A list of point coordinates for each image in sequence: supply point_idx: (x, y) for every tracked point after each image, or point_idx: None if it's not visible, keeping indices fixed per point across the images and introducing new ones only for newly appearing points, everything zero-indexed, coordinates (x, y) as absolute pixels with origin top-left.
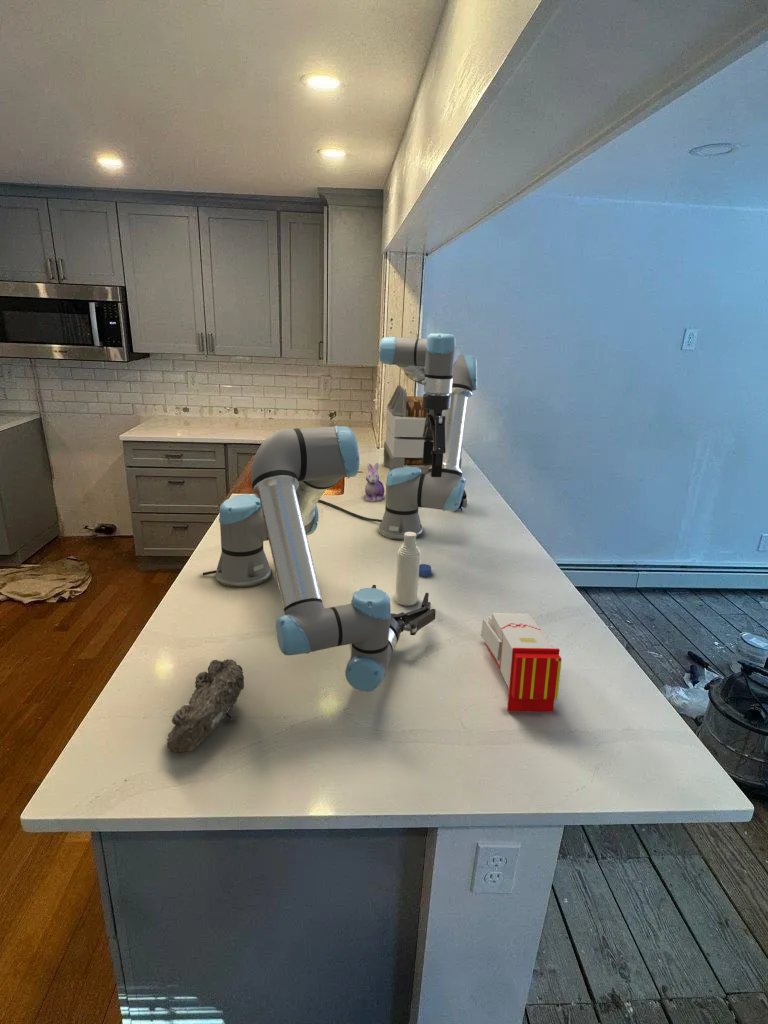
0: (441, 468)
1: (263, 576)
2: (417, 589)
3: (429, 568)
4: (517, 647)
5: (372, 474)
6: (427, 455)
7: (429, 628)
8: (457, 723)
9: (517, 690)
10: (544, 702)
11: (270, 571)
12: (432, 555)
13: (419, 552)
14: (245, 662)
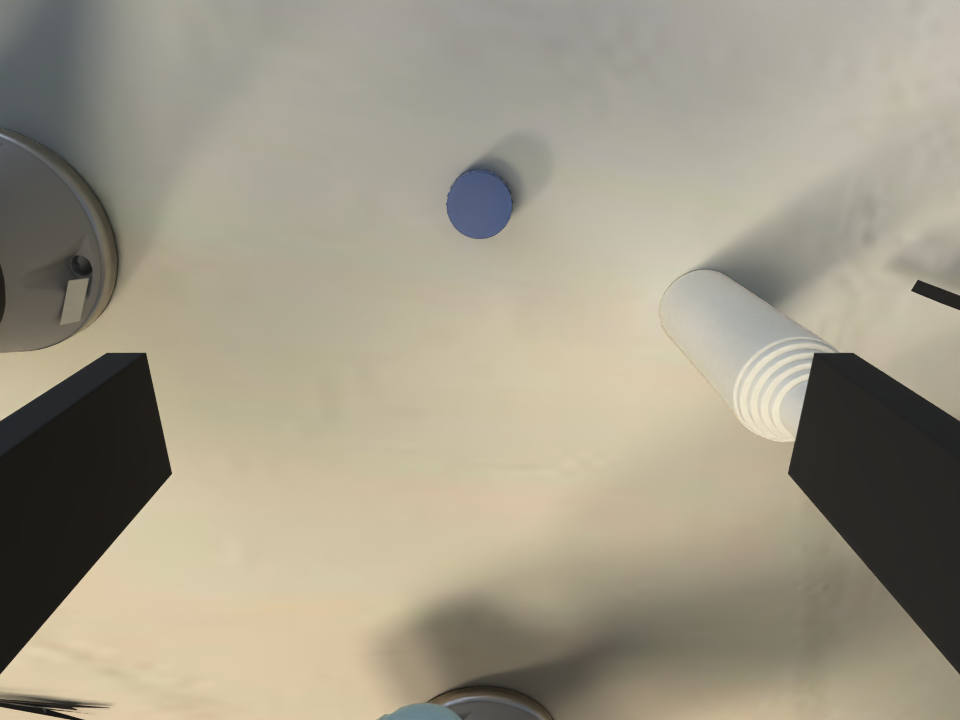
0: (938, 416)
1: (530, 713)
2: (741, 286)
3: (494, 184)
4: None
5: None
6: (88, 495)
7: (908, 256)
8: None
9: None
10: None
11: (479, 694)
12: (276, 121)
13: (826, 346)
14: (922, 698)
